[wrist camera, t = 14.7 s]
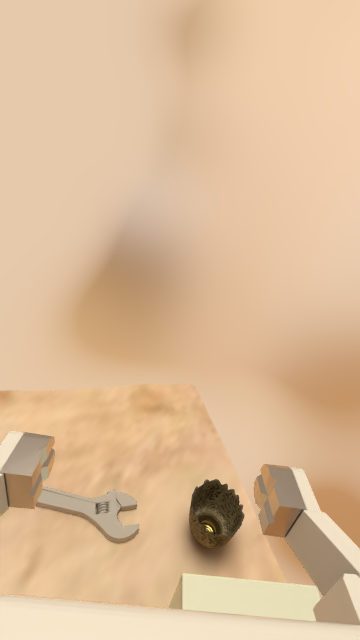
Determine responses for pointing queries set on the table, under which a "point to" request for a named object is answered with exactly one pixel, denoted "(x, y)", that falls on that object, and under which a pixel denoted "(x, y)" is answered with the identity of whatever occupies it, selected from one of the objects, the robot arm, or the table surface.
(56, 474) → the table surface
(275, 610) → the cabinet
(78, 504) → the adjustable wrench
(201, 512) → the brown hollow round piece
